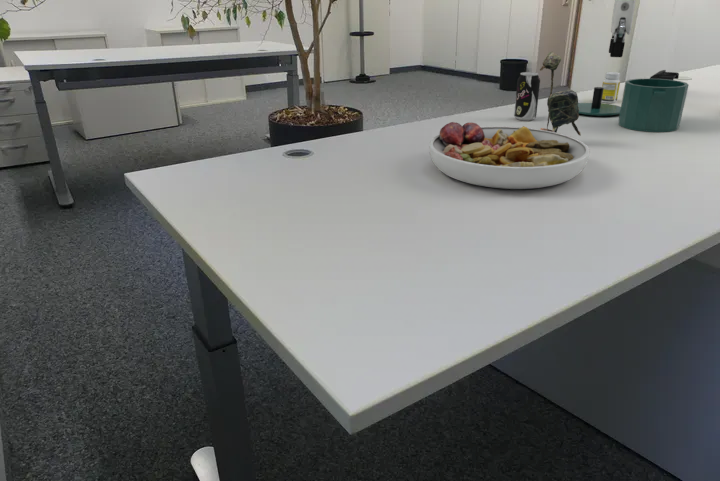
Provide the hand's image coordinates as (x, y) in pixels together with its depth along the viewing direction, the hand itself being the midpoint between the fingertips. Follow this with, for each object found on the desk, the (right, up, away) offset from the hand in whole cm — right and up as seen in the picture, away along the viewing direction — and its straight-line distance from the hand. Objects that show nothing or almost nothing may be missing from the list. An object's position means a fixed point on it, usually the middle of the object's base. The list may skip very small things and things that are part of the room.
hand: (615, 55), depth 161 cm
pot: (-2, -25, -22) cm, 34 cm away
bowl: (-46, -40, -52) cm, 80 cm away
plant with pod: (-31, -32, -35) cm, 57 cm away
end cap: (+21, -8, +15) cm, 27 cm away
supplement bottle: (+1, -12, +6) cm, 14 cm away
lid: (-9, -18, -7) cm, 21 cm away
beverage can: (-30, -22, -13) cm, 40 cm away
